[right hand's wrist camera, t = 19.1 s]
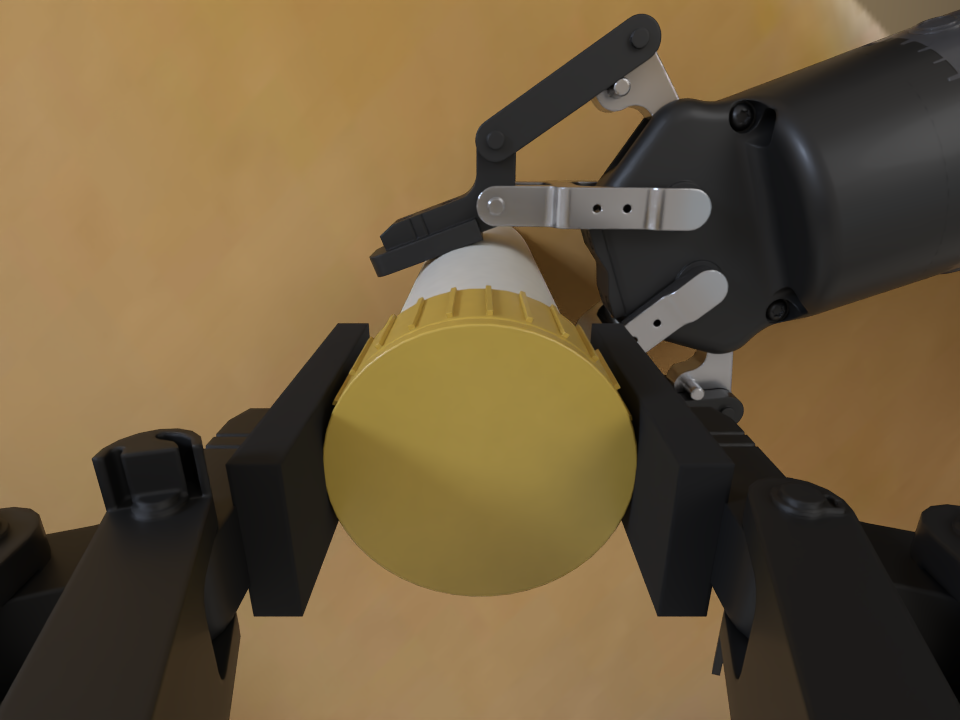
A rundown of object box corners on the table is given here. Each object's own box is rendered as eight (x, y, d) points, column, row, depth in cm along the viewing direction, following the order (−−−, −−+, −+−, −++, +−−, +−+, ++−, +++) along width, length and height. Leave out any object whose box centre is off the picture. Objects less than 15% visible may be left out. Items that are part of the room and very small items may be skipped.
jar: (427, 321, 27) (359, 547, 12) (426, 214, 25) (344, 320, 10) (530, 322, 27) (595, 551, 12) (536, 217, 25) (621, 326, 10)
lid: (630, 291, 11) (669, 329, 9) (593, 527, 13) (617, 607, 11) (344, 275, 11) (310, 308, 9) (351, 515, 13) (325, 594, 11)
